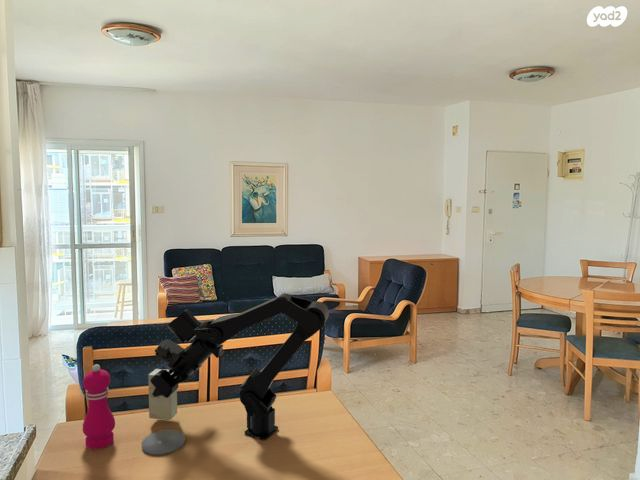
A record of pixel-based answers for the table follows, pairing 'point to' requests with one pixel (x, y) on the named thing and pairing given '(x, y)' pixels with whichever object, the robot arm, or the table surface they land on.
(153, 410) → the skincare box
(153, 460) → the table surface
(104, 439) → the pepper mill
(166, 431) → the charcoal coaster
